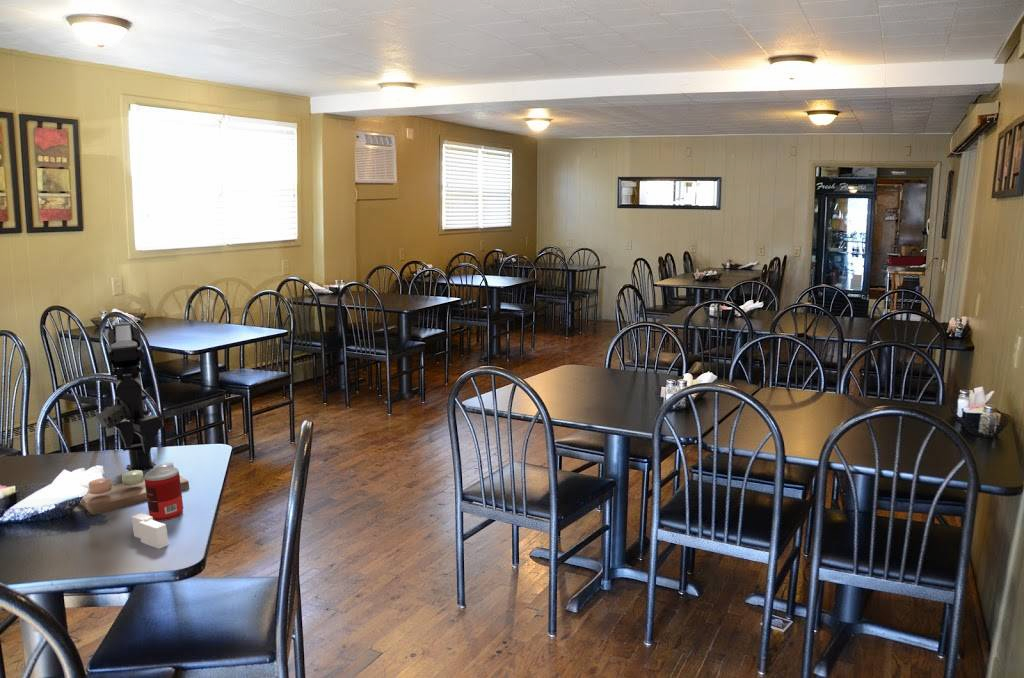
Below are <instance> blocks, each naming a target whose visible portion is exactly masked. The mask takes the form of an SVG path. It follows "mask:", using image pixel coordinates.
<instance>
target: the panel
mask: <svg viewBox="0 0 1024 678" xmlns="http://www.w3.org/2000/svg"><path fill="white" fill-rule="evenodd" d="M179 476H180V484H181V491H184V490H188V489H190V484H189V482H190V481H189V480H187V479H186V478H184V477H183V476H181V475H180V474H179ZM143 479H144V477H143ZM111 488H112V489H111V490H110V491H108V492H106V493H102V494H90V491H88V493H87V492H86V493H87V494H86V496H84V497H83V498H82V499H81V504H80V505H82V507H84V508H85V509H86V510H87V511H88V512H89V513H90V514H91V515H92V516H94V515H98V514H102V513H105V512H108V511H111V510H116V509H119V508H120V509H121V508H122V507H123V508H124V507H126V506H129V505H134V504H138V503H140V502H144V501H147V495H146V487H145V479H144V481H143V482H142V483H140V484H136V485H131V486H126V485H123V482H122V483H120V484H119V483H118V484H115V485H111Z"/></svg>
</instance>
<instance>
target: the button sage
mask: <svg viewBox="0 0 1024 678" xmlns="http://www.w3.org/2000/svg"><path fill="white" fill-rule="evenodd" d="M143 478H144V473H143V470H133V471H132V470H128V471H126V472H123V473H122V474H121V480H122V483H123V485H126V486H131V485H136V484H140V483H142V482H143V481H144V479H143Z"/></svg>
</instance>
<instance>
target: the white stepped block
mask: <svg viewBox="0 0 1024 678" xmlns="http://www.w3.org/2000/svg"><path fill="white" fill-rule="evenodd" d="M131 521H132V522H131V523H132V528H133V529H132V531H133V537H135V538H139V539H140V543H142V544H145V545H148V546H150V547H153V548H156V549H158V550H159V549H162V548H164V547H166V546H169V538H168V531H167V524H166V523H163V522H160V521H156V520H153V517H152V516H149V514H145V513H142V512H140V513H138V514H134V515H132V516H131Z"/></svg>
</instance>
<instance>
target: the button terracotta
mask: <svg viewBox="0 0 1024 678" xmlns="http://www.w3.org/2000/svg"><path fill="white" fill-rule="evenodd" d="M111 486H112V482H111V478H108V477H107V478H105V477H103V478H96V479H93V480H91V481H89V482H88V489H89V490H88V492H90V494H102V493H106V492H108V491H110V490H111V489H112V488H111Z"/></svg>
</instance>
